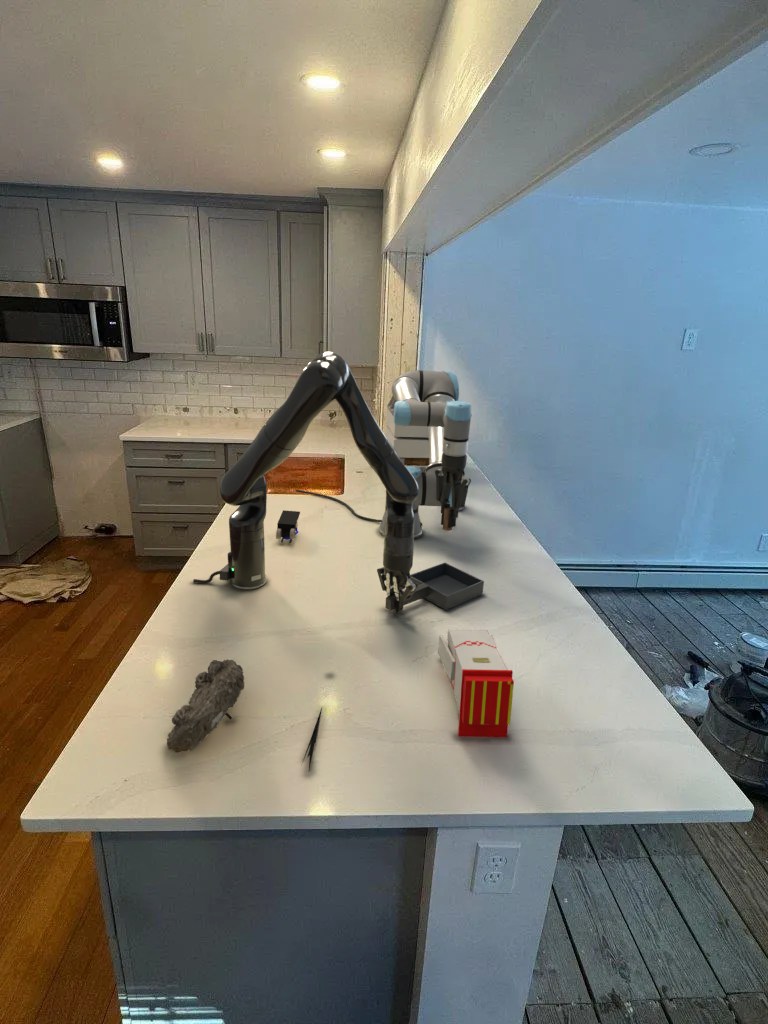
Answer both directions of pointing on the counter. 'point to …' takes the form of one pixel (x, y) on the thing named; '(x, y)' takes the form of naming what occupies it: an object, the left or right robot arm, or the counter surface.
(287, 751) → the counter surface
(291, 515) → the figurine character
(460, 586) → the tray
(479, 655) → the toy
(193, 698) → the fossil
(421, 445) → the white slatted crate
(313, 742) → the feather
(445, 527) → the peg
